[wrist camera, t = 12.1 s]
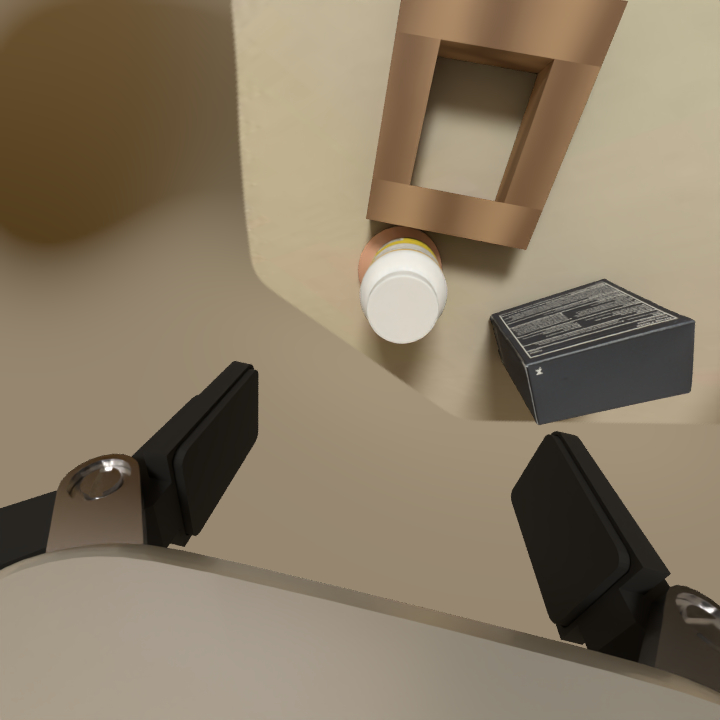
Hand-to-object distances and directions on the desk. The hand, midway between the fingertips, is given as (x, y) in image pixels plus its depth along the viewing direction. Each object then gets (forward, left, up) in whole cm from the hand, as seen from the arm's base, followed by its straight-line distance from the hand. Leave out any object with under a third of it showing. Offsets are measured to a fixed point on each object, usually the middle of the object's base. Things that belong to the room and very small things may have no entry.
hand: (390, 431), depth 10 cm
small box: (-16, +3, -24) cm, 29 cm away
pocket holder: (-3, -11, -24) cm, 27 cm away
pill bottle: (0, 0, -23) cm, 23 cm away
